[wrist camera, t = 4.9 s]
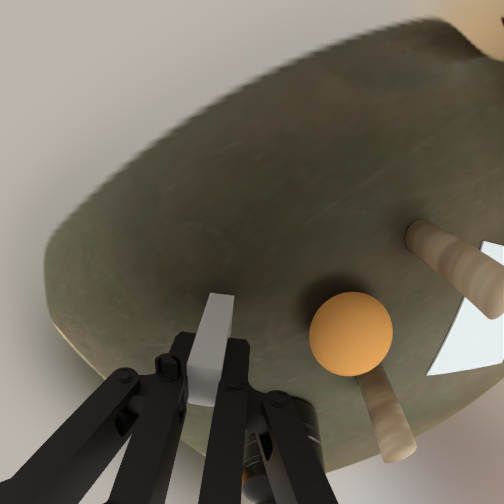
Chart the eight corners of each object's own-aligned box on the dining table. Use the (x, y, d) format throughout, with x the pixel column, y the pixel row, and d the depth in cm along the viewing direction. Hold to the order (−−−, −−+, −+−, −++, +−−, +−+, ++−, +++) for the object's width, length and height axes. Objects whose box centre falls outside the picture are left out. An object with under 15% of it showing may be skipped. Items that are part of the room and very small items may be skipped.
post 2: (436, 222, 17) (523, 273, 8) (427, 255, 18) (504, 319, 9) (409, 216, 17) (497, 268, 8) (401, 250, 18) (477, 319, 9)
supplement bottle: (328, 401, 23) (350, 513, 12) (297, 437, 25) (304, 533, 14) (260, 387, 22) (257, 515, 11) (236, 426, 25) (226, 530, 13)
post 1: (386, 361, 21) (423, 441, 13) (376, 381, 22) (406, 459, 14) (361, 362, 21) (393, 448, 13) (352, 382, 22) (377, 465, 14)
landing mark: (546, 258, 17) (547, 258, 17) (500, 361, 22) (501, 362, 22) (482, 240, 17) (483, 240, 17) (425, 374, 22) (426, 375, 22)
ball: (368, 331, 12) (302, 282, 17) (334, 405, 14) (285, 352, 19) (419, 309, 15) (360, 273, 19) (388, 375, 17) (340, 335, 21)
